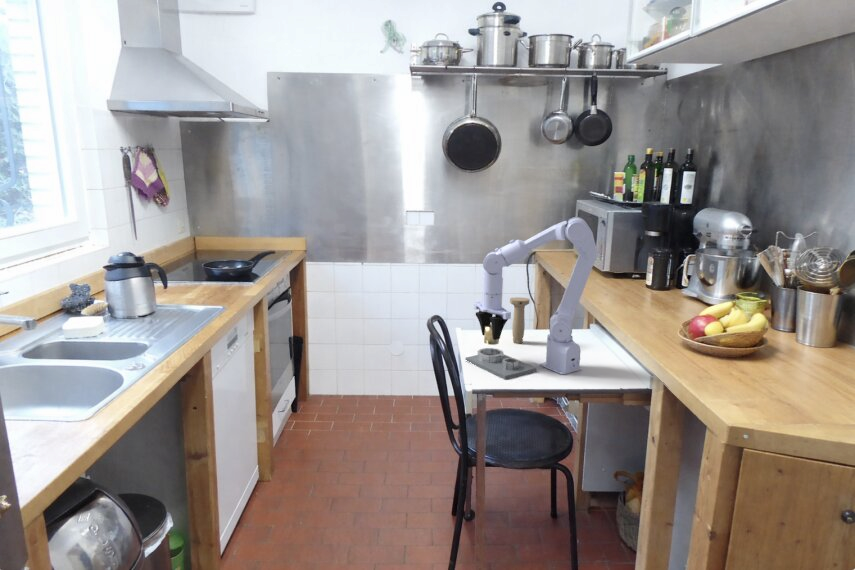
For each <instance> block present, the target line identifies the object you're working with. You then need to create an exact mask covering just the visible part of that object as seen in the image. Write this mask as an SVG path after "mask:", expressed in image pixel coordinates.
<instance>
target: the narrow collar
mask: <svg viewBox="0 0 855 570" xmlns="http://www.w3.org/2000/svg"><path fill="white" fill-rule="evenodd" d="M519 361H520V360H519V359H517V358H514V357H512V358H505V359H503V360H502V368H504V369H507V370H516V369H518V365H519Z"/></svg>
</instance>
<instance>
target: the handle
mask: <svg viewBox="0 0 855 570" xmlns="http://www.w3.org/2000/svg"><path fill="white" fill-rule="evenodd" d="M530 302H531V301H530V298H528V297H517V296H516V297H510V298H509V303H510V304H511V305H513V307H514V309H513V317H512V318H513V319H512V327H511V328H512V330H511V331H512V342H513V343H514V344H523V342H524V335H525V306H527V305H529V304H530Z"/></svg>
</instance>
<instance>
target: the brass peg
mask: <svg viewBox="0 0 855 570" xmlns="http://www.w3.org/2000/svg"><path fill="white" fill-rule="evenodd" d="M483 336H484V338H483V342H484V344H486V345H490V346H491V345H492V346H495V345H499V343H500V339H497V340H494V339H493V335H492V324H491V323H490V325H485V334H484V335H483Z"/></svg>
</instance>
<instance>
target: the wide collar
mask: <svg viewBox="0 0 855 570" xmlns="http://www.w3.org/2000/svg"><path fill="white" fill-rule="evenodd" d="M503 354H504V351H503V350H501V349H498V348H494V347H484V348H479V349H478V350H477V353H476V355H477V358H478V360H480V361H482V362H488V363H496V362H501V361H502V360H503ZM504 355H505V354H504Z"/></svg>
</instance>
